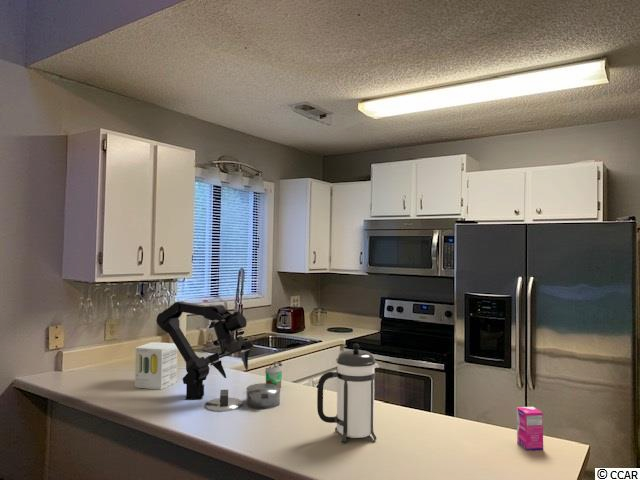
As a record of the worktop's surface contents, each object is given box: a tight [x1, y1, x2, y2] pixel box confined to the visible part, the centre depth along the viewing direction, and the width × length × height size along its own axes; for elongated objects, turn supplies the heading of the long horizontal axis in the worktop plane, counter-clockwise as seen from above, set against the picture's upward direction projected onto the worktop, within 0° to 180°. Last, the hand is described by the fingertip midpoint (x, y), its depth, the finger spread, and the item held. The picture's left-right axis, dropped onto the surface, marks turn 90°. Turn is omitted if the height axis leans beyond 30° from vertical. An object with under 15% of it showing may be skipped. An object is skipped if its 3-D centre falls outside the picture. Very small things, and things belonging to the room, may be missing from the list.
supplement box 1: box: [134, 341, 178, 391], centre depth 210 cm, size 13×13×18 cm
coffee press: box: [316, 343, 380, 444], centre depth 153 cm, size 17×16×30 cm
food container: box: [265, 361, 284, 389], centre depth 206 cm, size 12×6×10 cm, turn 168°
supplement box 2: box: [516, 406, 544, 451], centre depth 147 cm, size 6×6×12 cm
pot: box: [245, 382, 281, 410], centre depth 185 cm, size 13×16×6 cm
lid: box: [205, 389, 243, 412], centre depth 183 cm, size 14×14×5 cm
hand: (236, 373), depth 185 cm, fingers open, 9 cm apart
